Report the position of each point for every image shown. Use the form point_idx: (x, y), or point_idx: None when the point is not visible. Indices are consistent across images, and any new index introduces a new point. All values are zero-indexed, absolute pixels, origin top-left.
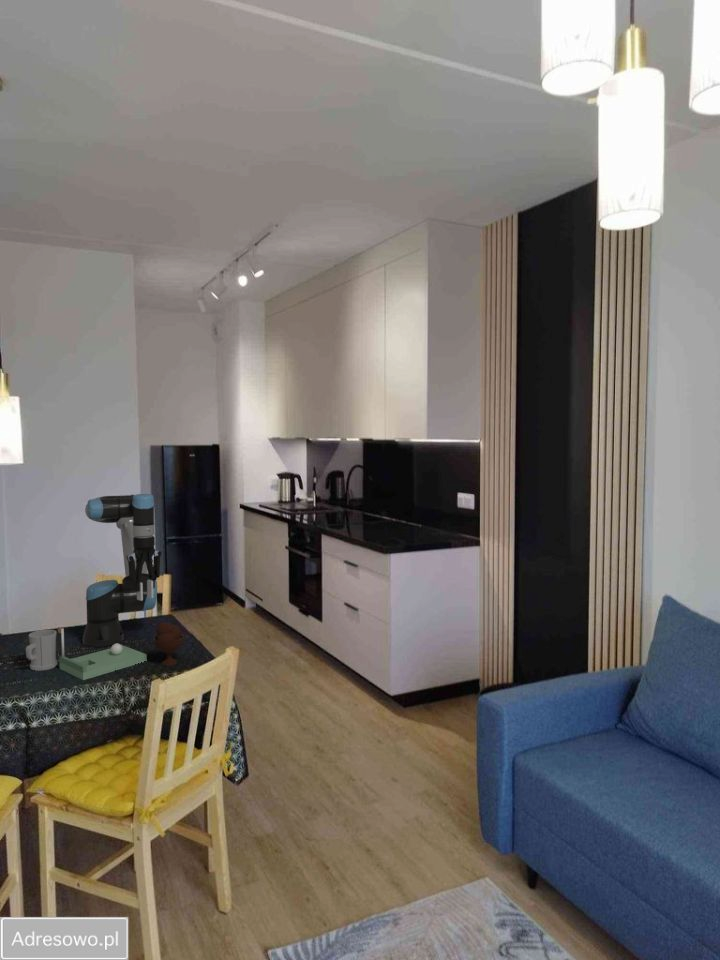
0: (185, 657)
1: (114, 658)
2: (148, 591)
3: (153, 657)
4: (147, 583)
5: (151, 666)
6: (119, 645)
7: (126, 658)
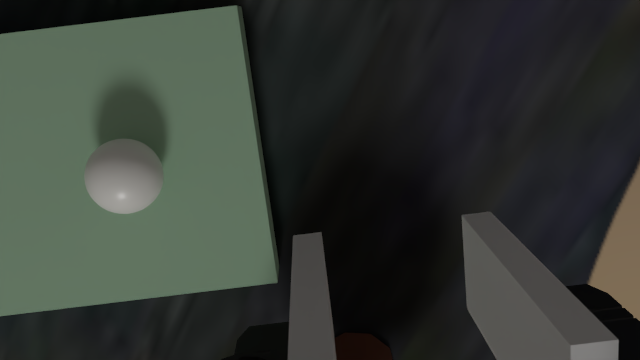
0: (462, 345)
1: (98, 225)
2: (489, 275)
3: (336, 234)
4: (539, 316)
5: None
6: (128, 206)
7: (155, 272)
